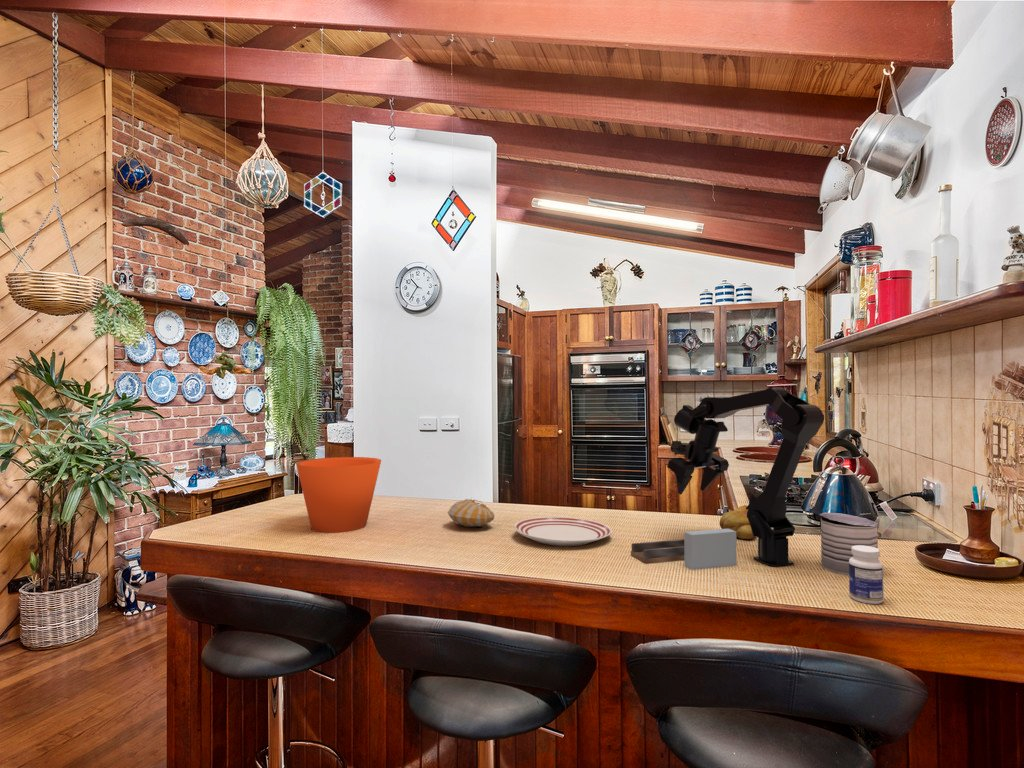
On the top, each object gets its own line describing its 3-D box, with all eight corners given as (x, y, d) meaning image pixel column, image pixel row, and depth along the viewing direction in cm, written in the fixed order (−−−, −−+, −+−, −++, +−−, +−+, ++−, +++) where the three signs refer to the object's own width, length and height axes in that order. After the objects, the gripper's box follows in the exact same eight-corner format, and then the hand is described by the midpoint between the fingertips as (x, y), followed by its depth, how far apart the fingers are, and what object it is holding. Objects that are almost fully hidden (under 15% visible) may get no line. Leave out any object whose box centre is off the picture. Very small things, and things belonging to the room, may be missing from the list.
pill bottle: (851, 592, 112) (851, 542, 113) (885, 598, 109) (884, 547, 109) (847, 600, 108) (846, 548, 108) (882, 607, 104) (881, 554, 105)
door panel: (728, 561, 133) (728, 528, 133) (736, 565, 130) (736, 531, 130) (684, 566, 130) (684, 531, 130) (692, 570, 127) (691, 535, 127)
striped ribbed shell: (461, 517, 184) (504, 522, 180) (438, 528, 163) (487, 534, 160) (462, 493, 184) (506, 497, 181) (440, 501, 163) (489, 506, 160)
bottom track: (693, 549, 143) (693, 538, 143) (711, 557, 136) (710, 545, 136) (631, 555, 138) (630, 543, 138) (645, 563, 131) (645, 550, 131)
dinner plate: (608, 527, 168) (608, 516, 168) (616, 553, 141) (616, 539, 141) (518, 525, 171) (518, 514, 171) (509, 550, 144) (509, 537, 144)
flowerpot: (298, 520, 177) (298, 458, 178) (378, 515, 185) (378, 455, 185) (292, 539, 154) (292, 468, 154) (384, 532, 161) (384, 464, 161)
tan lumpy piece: (763, 542, 151) (762, 512, 151) (725, 540, 152) (725, 511, 152) (751, 531, 163) (751, 503, 163) (717, 529, 165) (716, 502, 165)
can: (825, 558, 135) (825, 509, 136) (881, 567, 128) (880, 515, 128) (816, 570, 126) (815, 517, 127) (875, 580, 119) (874, 524, 120)
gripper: (705, 427, 162) (691, 475, 167) (659, 431, 152) (646, 481, 157) (736, 443, 153) (721, 493, 158) (690, 447, 143) (675, 501, 148)
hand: (690, 491), depth 155 cm, fingers open, 9 cm apart
